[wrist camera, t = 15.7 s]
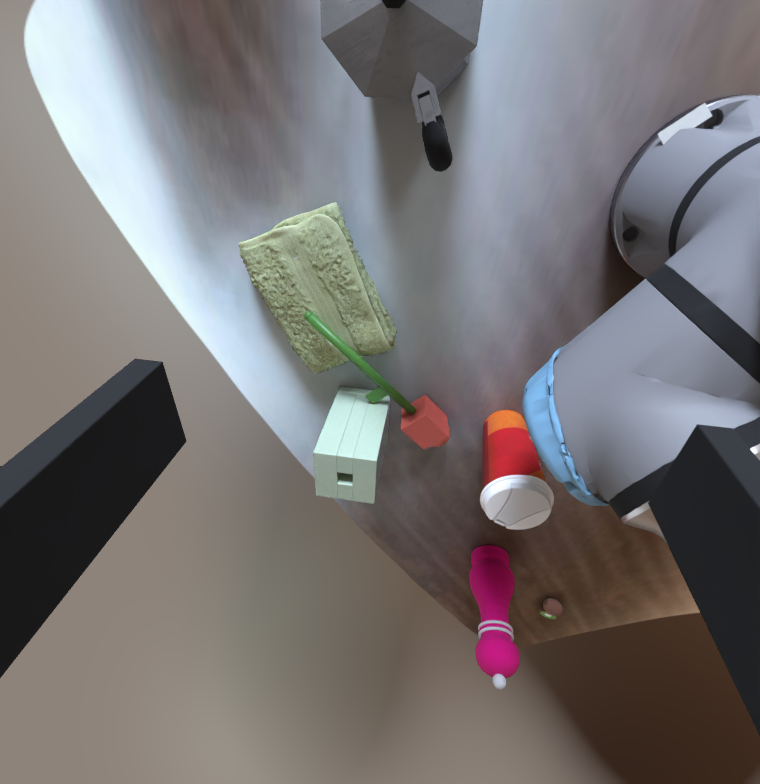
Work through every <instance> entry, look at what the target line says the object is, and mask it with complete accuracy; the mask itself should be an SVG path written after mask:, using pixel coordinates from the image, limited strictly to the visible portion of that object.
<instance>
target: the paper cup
mask: <svg viewBox="0 0 760 784" xmlns="http://www.w3.org/2000/svg"><path fill="white" fill-rule="evenodd" d="M553 502H554V496H553V492H552V490H551V489H550V487H549V486H548V485H547V483H546V480H545V477H544V474H543V471H542V468H541V465H540V462H539V459H538V456H537V453H536V449H535V446H534V444H533V442H532V439H531V437H530V435H529V432H528V429H527V426H526V423H525V419H524V418H523V416H521V415H520V414H519V413H517V412H514V411H511V410H501V411H497V412H495V413H493V414H491V415H490V416H489V417H488V418H487V419H486V420H485V422H484V426H483V491H482V493H481V495H480V504H481V506H482V508H483V510H484V511H485V513H486V515H487V516H488V518H489V519H490V520H494V522H495V523H497V524H499V525H501V526H506V528H507V529H514V530H522V529H529V528H532V527H535V526H538V525H540V524H541V523H543V522H544V521H545V520H546V519H547V518H548V517H549V515H550V513H551V508H552V506H553Z"/></svg>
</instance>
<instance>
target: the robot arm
mask: <svg viewBox="0 0 760 784" xmlns="http://www.w3.org/2000/svg"><path fill="white" fill-rule="evenodd" d="M610 230H611V236H612V240H613V243H614V246H615V248H616V250H617V252H618V253H619V255H620V256H621V258H622V259H623V260H624V261H625V262H626V263H627V264H628V265H629V266H630V267H631V268H632V269H633V270H634V271H635V272H637V273H638V274H640V275H641V276H643V277H645V278H646V279H647V280H648V281H647V280H646V279H644V280H643V281H642V282H641V283H640V284H638V285H637V286H636V287H635V288H634V289H632V290H631V291H630V292H629V293H628V294H627V295H625V296H624V297H623V298H622V299H621V300H619V301H618V302H617V303H616V304H615V305H614V306H612V307H611V308H610V309H609V310H608V311H606V312H605V313H604V314H603V315H601V316H600V317H599V318H598V319H597V320H595V321H594V322H593V323H592V324H591V325H589V326H588V327H587V328H586V329H585V330H583V331H582V332H581V333H580V334H578V335H577V336H576V337H575V338H574V339H572V340H571V341H570V342H569V343H568V344H566V345H565V346H563V347H561V348H559V349H557V350H556V351H555V352H554V354H553V355H552V357H551V359H550V360H549V361H548V362H547V363H546V364H545V365H544V366H543V367H542V368H540V369H539V370H538V371H537V372H536V373H535V374H534V375H533V376H532V377H531V378H530V379H529V381H528V382H527V384H526V386H525V388H524V394H523V401H522V407H523V415H524V419H525V423H526V426H527V429H528V432H529V435H530V437H531V439H532V442H533V444H534V446H535V448H536V450H537V451H538V453H539V455H540V457H541V458H542V460H543V462H544V463H545V465H546V466H547V468H548V469H549V471H550V472H551V473H552V475H553V476H554V477H555V478H556V479H557V481H558V482H561V483H564V484H565V486H566V488H567V491H568V492H569V493H570V494H571V495H572V496H574V497H575V498H576V499H578V500H579V501H581V502H583V503H585V504H588V505H590V506H608V505H610V506H611V507H612V508H613V510H614V511H615V513H616V514H617V515H618V517H619V518H620V519H621V521H622V522H623V523H624V524H626V525H630V526H633V527H637V528H640V529H644V530H647V531H651V532H653V533H655V534H657V535H658V536H660V537H662V538H663V540H664V541H665V542H666V544H667V545H668V546H669V548H670V550H671V552H672V554H673V556H674V559H675V561H676V563H677V565H678V567H679V569H680V571H681V573H682V575H683V577H684V579H685V581H686V583H687V586H688V588H689V590H690V592H691V594H692V596H693V598H694V600H695V602H696V604H697V606H698V608H699V610H700V613H701V615H702V617H703V619H704V621H705V623H706V625H707V627H708V629H709V631H710V633H711V635H712V637H713V639H714V642H715V644H716V646H717V648H718V650H719V652H720V654H721V656H722V658H723V660H724V662H725V664H726V666H727V669H728V671H729V673H730V675H731V677H732V679H733V681H734V683H735V685H736V687H737V689H738V691H739V693H740V696H741V697H742V700H743V702H744V704H745V706H746V708H747V710H748V712H749V714H750V716H751V718H752V720H753V723H754V725H755V727H756V729H757V731H758V733H759V735H760V95H734V96H727V97H722V98H718V99H714V100H711V101H708V102H705V103H703V104H700V105H698V106H695V107H693V108H691V109H689V110H687V111H685V112H684V113H682V114H680V115H679V116H677V117H675V118H674V119H673V120H671V121H670V122H668V123H667V124H666V125H664V126H663V127H662V128H660V129H659V130H658V131H657V132H656V133H655V134H654V135H653V136H651V137H650V138H649V139H648V140H647V142H646V143H645V144H644V145H643V146H642V147H641V148H640V149H639V151H638V152H637V153H636V154H635V156H634V157H633V158H632V160H631V161H630V163H629V164H628V166H627V167H626V169H625V171H624V172H623V174H622V176H621V178H620V180H619V183H618V185H617V188H616V190H615V193H614V197H613V200H612V205H611V211H610ZM654 286H655V287H656V288H657V289H656V288H655V287H654ZM661 292H662V293H663V294H664V295H665V296H666V297H667V298H668V299H667V298H666V297H665V296H664V295H663V294H662V293H661ZM674 304H675V305H676V306H677V307H678V308H679V309H678V308H677V307H676V306H675V305H674ZM701 329H702V330H701ZM712 339H713V340H712ZM185 442H186V438H185V435H184V431H183V428H182V425H181V421H180V418H179V415H178V412H177V408H176V405H175V402H174V398H173V395H172V392H171V388H170V385H169V382H168V379H167V375H166V372H165V369H164V366H163V362H159V361H150V360H142V359H134V360H133V361H132V362H130V363H129V364H128V365H127V366H125V367H124V368H123V369H122V370H121V371H119V372H118V373H117V374H116V375H114V376H113V377H112V378H111V379H109V380H108V381H107V382H106V383H105V384H103V385H102V386H101V387H100V388H98V389H97V390H96V391H95V392H94V393H92V394H91V395H90V396H88V397H87V398H86V399H85V400H83V401H82V402H81V403H80V404H79V405H77V406H76V407H75V408H74V409H72V410H71V411H70V412H69V413H68V414H66V415H65V416H64V417H63V418H61V419H60V420H59V421H57V422H56V423H55V424H54V425H53V426H51V427H50V428H49V429H48V430H46V431H45V432H44V433H43V434H41V435H40V436H39V437H38V438H36V439H35V440H34V441H33V442H32V443H30V444H29V445H28V446H27V447H25V448H24V449H23V450H22V451H20V452H19V453H18V454H17V455H15V456H14V457H13V458H12V459H10V460H9V461H8V462H7V463H6V464H4V465H3V466H0V678H1V676H2V675H3V674H4V673H5V671H6V670H7V669H8V667H9V666H10V665H11V664H12V662H13V661H14V660H15V659H16V657H17V656H18V655H19V654H20V652H21V651H22V650H23V649H24V647H25V646H26V644H27V643H28V642H29V641H30V639H31V638H32V637H33V636H34V635H35V633H36V632H37V631H38V629H39V628H40V627H41V626H42V624H43V623H44V622H45V620H46V619H47V618H48V617H49V615H50V614H51V613H52V612H53V610H54V609H55V608H56V606H57V605H58V604H59V603H60V601H61V600H62V599H63V597H64V596H65V595H66V594H67V593H68V591H69V589H71V587H72V586H73V585H74V584H75V582H76V581H77V580H78V579H79V577H80V576H81V575H82V573H83V572H84V571H85V569H86V568H87V567H88V566H89V565H90V563H91V562H92V561H93V559H94V558H95V557H96V556H97V554H98V553H99V552H100V551H101V549H102V548H103V547H104V545H105V544H106V543H107V542H108V540H109V539H110V538H111V537H112V535H113V534H114V532H115V531H116V530H117V529H118V528H119V526H120V525H121V524H122V523H123V521H124V520H125V519H126V517H127V516H128V515H129V514H130V512H131V511H132V510H133V509H134V507H135V506H136V505H137V503H138V502H139V501H140V499H141V498H142V497H143V496H144V495H145V493H146V492H147V490H148V489H149V488H150V487H151V486H152V484H153V483H154V482H155V481H156V479H157V478H158V477H159V475H160V474H161V473H162V472H163V470H164V469H165V468H166V467H167V465H168V464H169V463H170V461H171V460H172V459H173V458H174V456H175V455H176V453H178V451H179V450H180V449H181V447H182V446H183V445H184V444H185Z"/></svg>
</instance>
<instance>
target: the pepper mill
mask: <svg viewBox="0 0 760 784" xmlns="http://www.w3.org/2000/svg"><path fill="white" fill-rule="evenodd" d="M471 564H472V567H473V568H472V569H471V571H470V573H469V582H470V587H471V590H472V593H473V595H474V597H475V599H476V601H477V603H478V606H479V609H480V614H481V624H480V625H479V626H478V631H479V633H478V636H479V638H480V641H479V642H478V643H477V646H476V659H477V662H478V665H479V666H480V668H481V669H482V670H483V671H484V672H485V673H486V674H487V675H489V676H491V677H493V684H494V686H495V687H496V688H497V689H503V688H505V686H506V679H505V678H508V677H510V676H512V675H513V674H514V673H515V672H516V671H517V669H518V667H519V662H520V656H519V651H518V648H517V646H516V645H515V644H514V642H513V639H514V636H513V628H512V627H511V626H510V625H509V620H508V608H509V603H510V600H511V598H512V595H513V592H514V587H515V581H514V575H513V573H512V571H511V570H510V569H509V566H510V564H509V556H508V553H507V552H506V551H505V550H504V549H502V548H501V547H498V546H493V545H484V546H480V547H477V548H476V549H474V550H473V552H472V554H471Z"/></svg>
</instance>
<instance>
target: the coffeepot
mask: <svg viewBox="0 0 760 784" xmlns="http://www.w3.org/2000/svg"><path fill="white" fill-rule="evenodd" d="M320 1H321V38H322V40H323V41H324V43H325V44H326V45H327V47H328V48H329V49H330V51H331V52H332V53H333V55H334V56H335V57H336V59H337V60H338V61H339V63H340V64H341V65H342V67H343V68H344V69H345V71H346V72H347V73H348V75H349V76H350V77H351V79H352V80H353V81H354V83H355V84H356V85H357V87H358V88H359V89H360V91H361V92H362V93H363V95H364V96H365V97H383V98H401V99H412V102H413V106H414V110H415V114H416V118H417V122H418V124H419V123H421V122H422V137H423V142H424V147H425V152H426V155H427V158H428V161H429V165H430V166H431V167H432V168H433V169H434V170H435V171H440V172H441V171H444V170H446V169H447V168H448V167H449V166H450V165H451V162H452V153H451V149H450V145H449V142H448V137H447V133H446V129H445V125H444V121H443V118H442V115H441V109H440V105H439V101H438V97H437V96H438V95H439V94H440V93H441V92H442V91H443V90H444V89H445V88H446V87H447V86H448V85H449V84H450V82H451V81H452V80H453V79H454V78H455V77H456V76H457V75H458V74H459V73H460V72H461V71H462V70H463V69H464V68H465V67H466V66H467V65H468V61H469V54H470V52H471V51H472V50H473V49H474V48H475V47H476V46H477V41H478V33H479V26H480V19H481V12H482V5H483V0H320Z"/></svg>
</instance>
